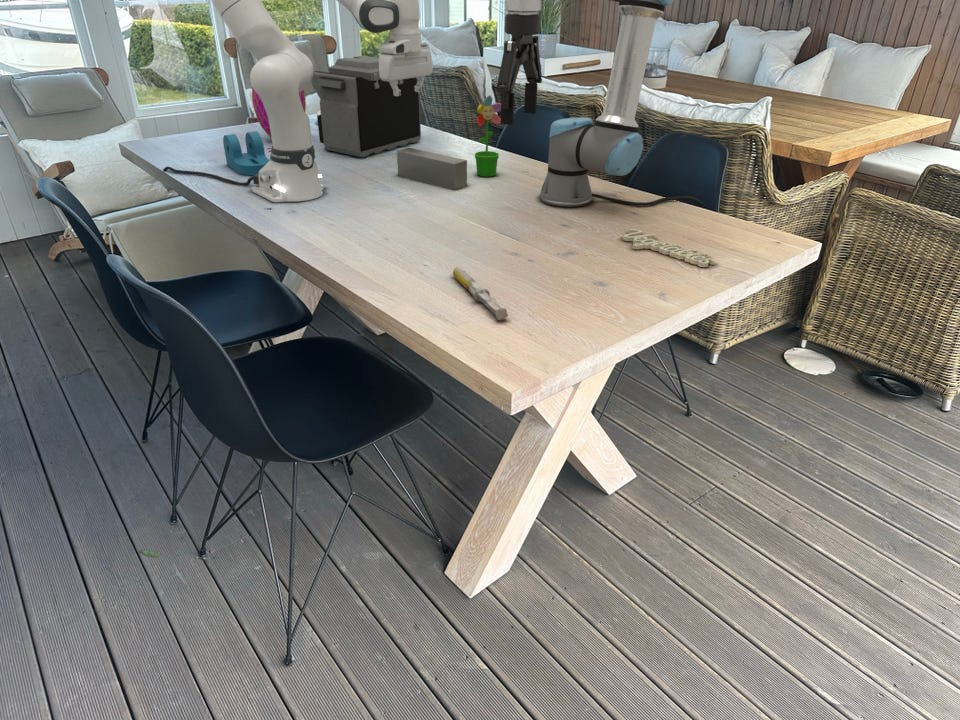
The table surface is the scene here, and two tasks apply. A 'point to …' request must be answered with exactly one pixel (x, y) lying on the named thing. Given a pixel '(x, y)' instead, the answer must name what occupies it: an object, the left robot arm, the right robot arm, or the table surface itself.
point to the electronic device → (365, 108)
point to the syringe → (479, 293)
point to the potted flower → (487, 159)
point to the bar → (432, 168)
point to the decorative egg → (261, 110)
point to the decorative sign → (667, 248)
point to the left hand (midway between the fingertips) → (407, 93)
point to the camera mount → (245, 161)
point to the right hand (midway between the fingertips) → (518, 118)
